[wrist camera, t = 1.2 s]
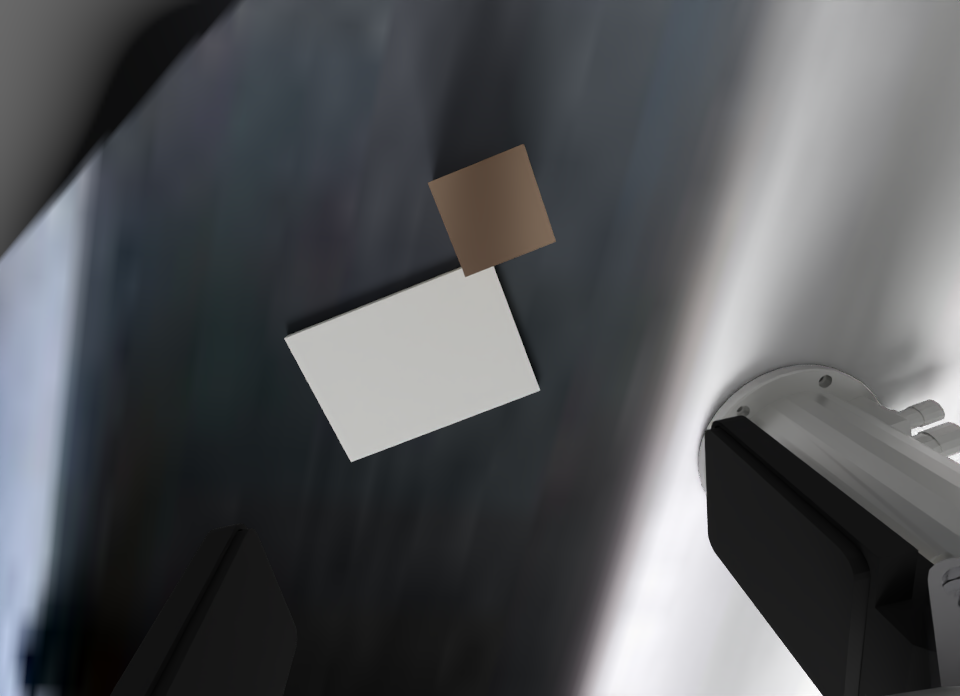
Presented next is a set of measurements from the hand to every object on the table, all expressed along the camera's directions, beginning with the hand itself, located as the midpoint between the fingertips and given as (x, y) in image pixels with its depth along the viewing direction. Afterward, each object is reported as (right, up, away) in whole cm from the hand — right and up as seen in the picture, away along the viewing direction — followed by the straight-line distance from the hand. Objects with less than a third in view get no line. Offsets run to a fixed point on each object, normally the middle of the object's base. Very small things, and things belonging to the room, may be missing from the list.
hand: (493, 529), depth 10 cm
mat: (-4, +3, +21) cm, 22 cm away
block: (0, +12, +19) cm, 22 cm away
